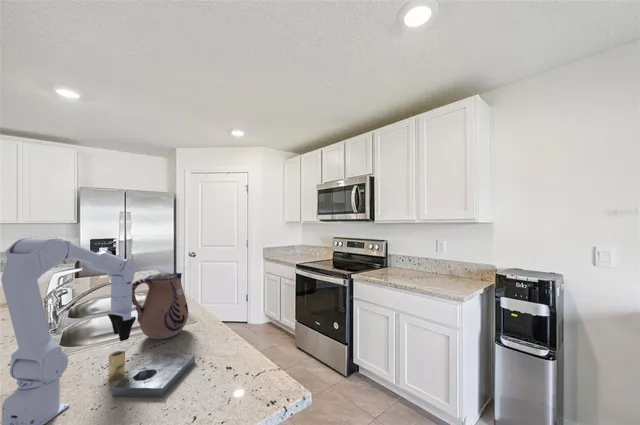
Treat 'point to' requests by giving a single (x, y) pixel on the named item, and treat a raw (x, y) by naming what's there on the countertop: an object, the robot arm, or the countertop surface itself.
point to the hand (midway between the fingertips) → (121, 336)
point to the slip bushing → (116, 365)
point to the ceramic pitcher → (162, 306)
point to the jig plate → (154, 376)
